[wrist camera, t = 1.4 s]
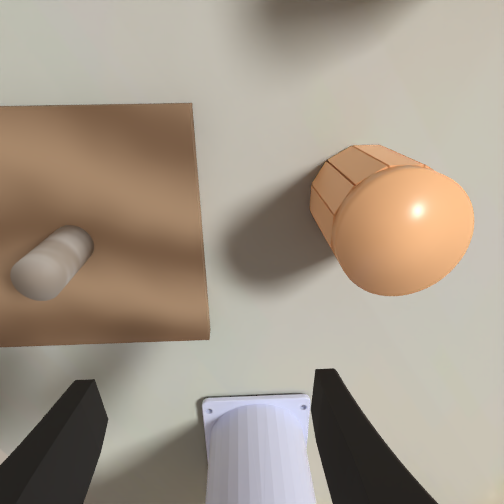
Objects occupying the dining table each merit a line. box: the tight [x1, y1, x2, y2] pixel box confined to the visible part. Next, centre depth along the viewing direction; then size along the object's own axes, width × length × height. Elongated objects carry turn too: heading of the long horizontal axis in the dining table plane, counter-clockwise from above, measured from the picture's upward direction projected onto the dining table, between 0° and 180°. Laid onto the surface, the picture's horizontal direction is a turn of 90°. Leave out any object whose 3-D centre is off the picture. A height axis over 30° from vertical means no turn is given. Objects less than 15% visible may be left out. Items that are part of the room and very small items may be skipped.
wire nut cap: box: [310, 145, 474, 296], centre depth 17 cm, size 6×6×6 cm
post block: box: [0, 103, 210, 347], centre depth 18 cm, size 14×14×5 cm
